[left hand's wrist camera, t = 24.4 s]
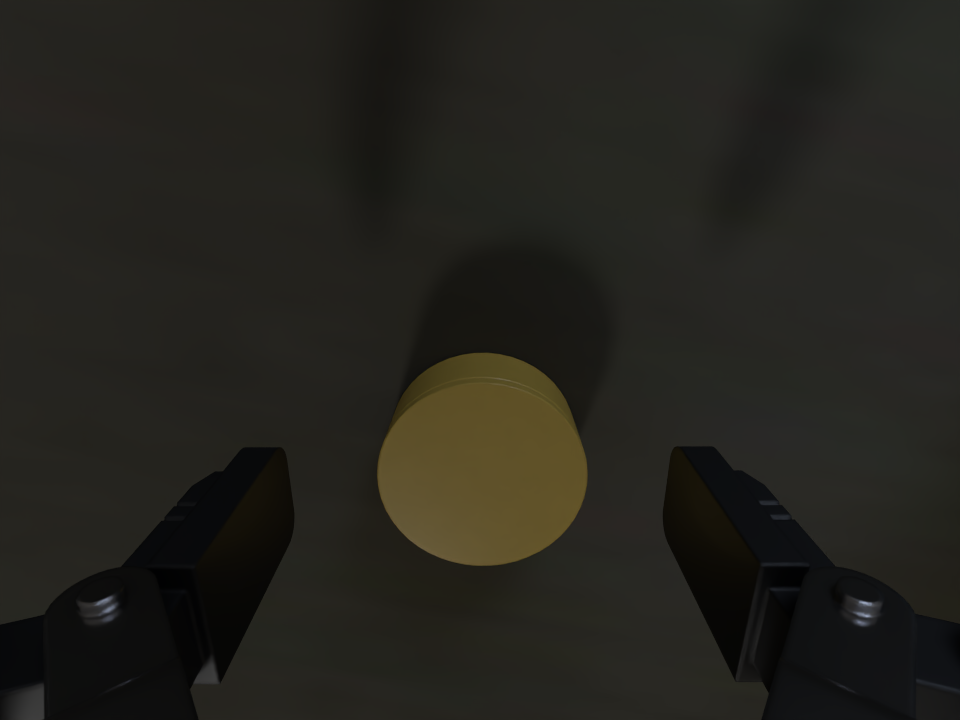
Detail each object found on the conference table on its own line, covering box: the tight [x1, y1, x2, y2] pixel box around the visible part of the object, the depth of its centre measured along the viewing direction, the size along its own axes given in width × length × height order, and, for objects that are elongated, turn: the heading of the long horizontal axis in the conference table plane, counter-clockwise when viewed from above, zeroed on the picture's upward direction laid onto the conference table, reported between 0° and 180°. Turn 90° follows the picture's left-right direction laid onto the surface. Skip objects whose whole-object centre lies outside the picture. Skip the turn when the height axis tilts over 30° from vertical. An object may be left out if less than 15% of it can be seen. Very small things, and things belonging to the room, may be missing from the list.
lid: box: [377, 353, 588, 566], centre depth 14 cm, size 5×5×2 cm
